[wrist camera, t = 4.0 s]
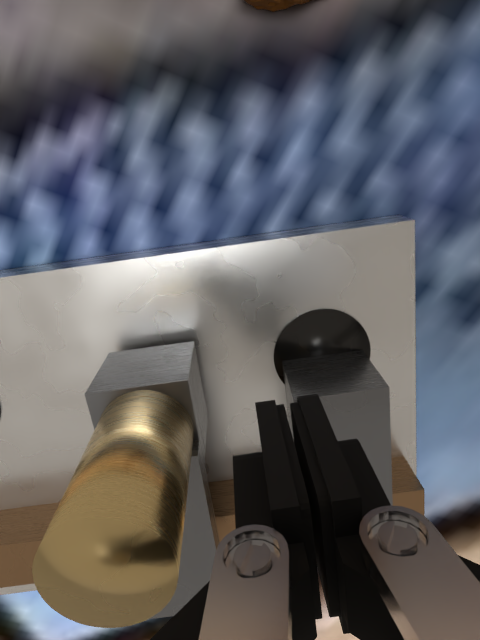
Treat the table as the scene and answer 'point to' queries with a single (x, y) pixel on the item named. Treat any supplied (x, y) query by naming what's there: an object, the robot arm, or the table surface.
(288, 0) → the primitive tool
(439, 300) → the table surface
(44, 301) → the bolt plate
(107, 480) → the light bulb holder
